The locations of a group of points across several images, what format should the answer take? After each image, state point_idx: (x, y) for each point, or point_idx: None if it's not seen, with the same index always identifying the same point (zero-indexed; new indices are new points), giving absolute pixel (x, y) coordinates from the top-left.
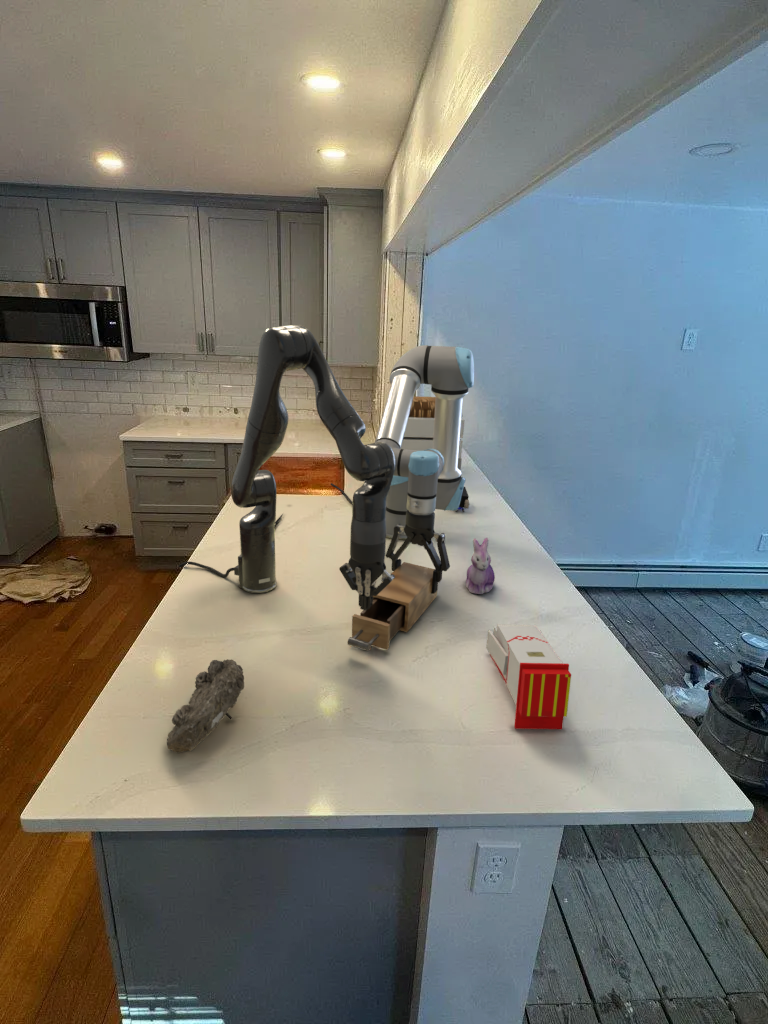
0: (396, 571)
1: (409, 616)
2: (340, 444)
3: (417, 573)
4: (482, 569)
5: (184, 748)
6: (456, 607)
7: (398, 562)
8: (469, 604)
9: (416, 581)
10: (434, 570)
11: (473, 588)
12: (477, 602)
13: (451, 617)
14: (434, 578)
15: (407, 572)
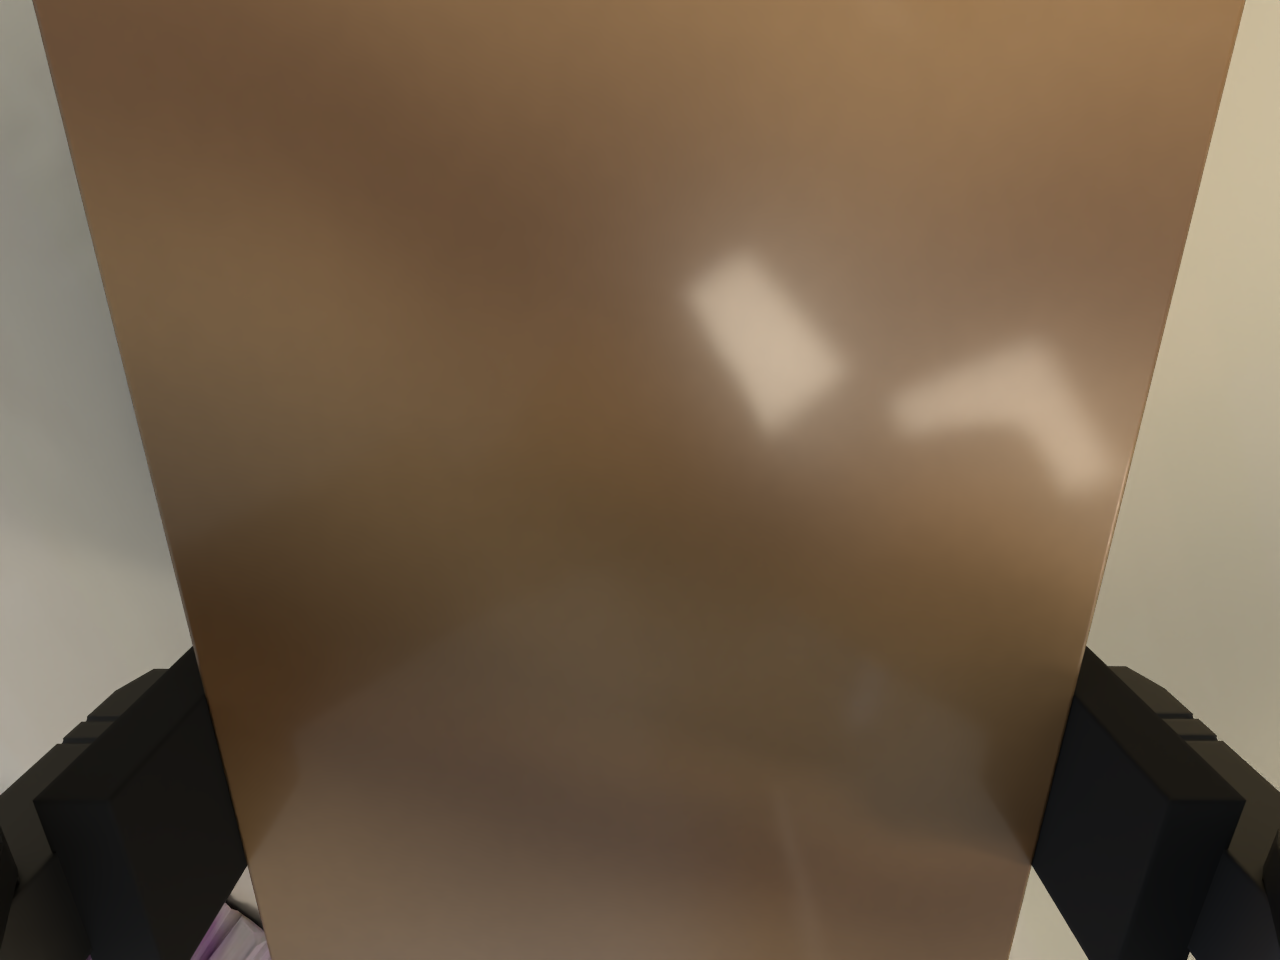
0: (1049, 551)
1: None
2: None
3: (563, 685)
4: None
5: None
6: (131, 541)
7: (1137, 845)
8: (61, 662)
9: (390, 297)
10: (115, 854)
11: None
12: (23, 733)
13: (39, 293)
14: (176, 679)
15: (787, 629)
